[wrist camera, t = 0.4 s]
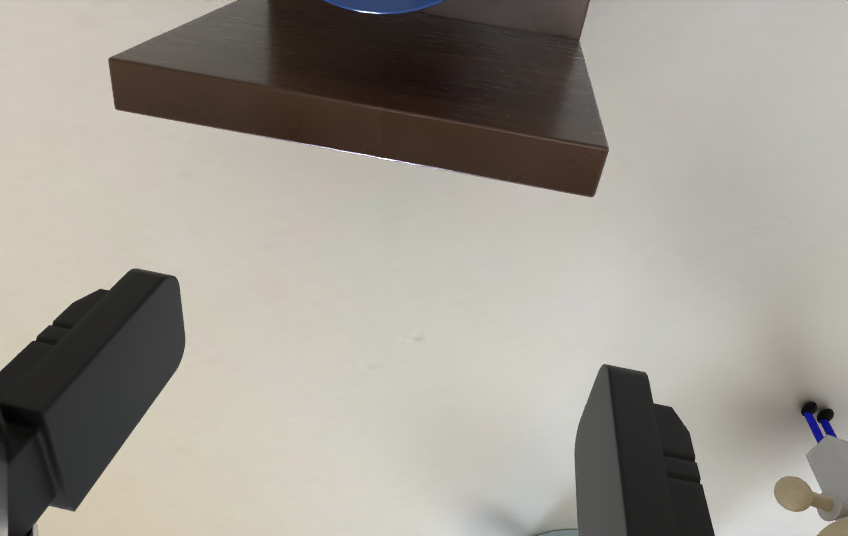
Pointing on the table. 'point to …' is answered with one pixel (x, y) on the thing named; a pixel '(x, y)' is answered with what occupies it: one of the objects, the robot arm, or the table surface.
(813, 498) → the toy
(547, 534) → the mug
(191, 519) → the table surface
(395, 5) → the canister
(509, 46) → the miniature wooden chair
